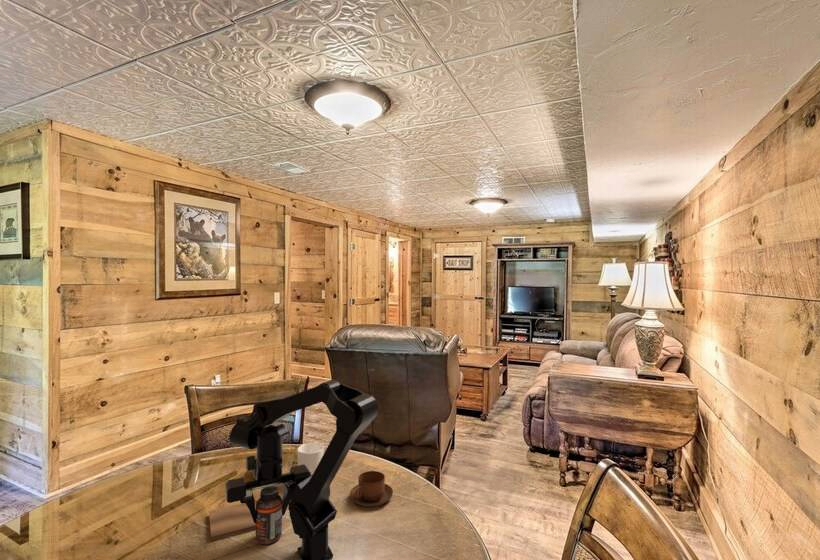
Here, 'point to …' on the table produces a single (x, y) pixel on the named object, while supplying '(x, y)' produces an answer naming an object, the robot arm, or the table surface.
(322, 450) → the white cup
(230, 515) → the walnut base
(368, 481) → the cup and saucer
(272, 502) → the supplement bottle
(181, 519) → the table surface
